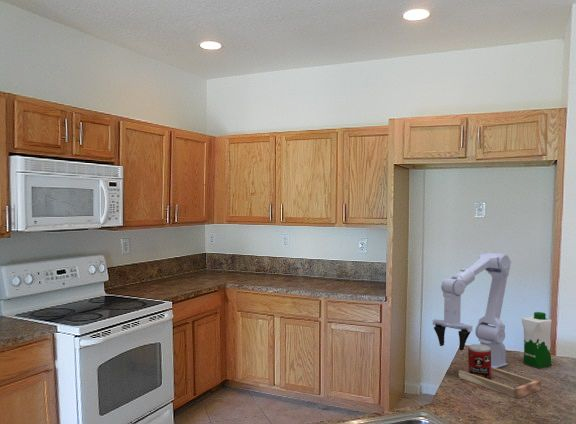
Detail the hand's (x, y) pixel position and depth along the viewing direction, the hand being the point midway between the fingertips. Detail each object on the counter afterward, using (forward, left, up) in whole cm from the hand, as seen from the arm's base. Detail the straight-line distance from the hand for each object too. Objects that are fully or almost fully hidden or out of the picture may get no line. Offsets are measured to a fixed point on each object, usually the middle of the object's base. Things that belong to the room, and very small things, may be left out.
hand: (451, 347), depth 169 cm
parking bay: (-6, +14, -10) cm, 18 cm away
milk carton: (-36, +11, -10) cm, 40 cm away
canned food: (-6, +7, -10) cm, 14 cm away
